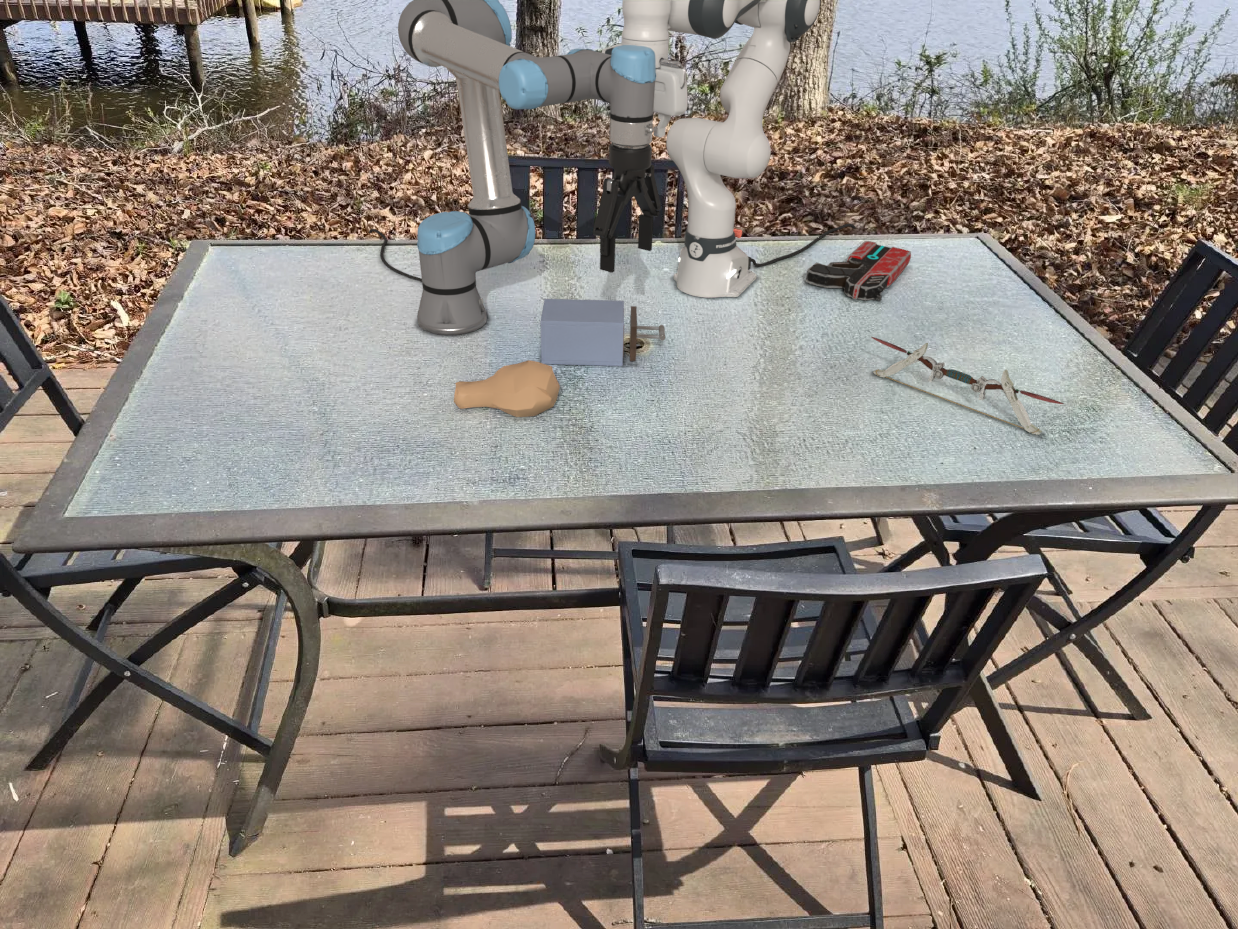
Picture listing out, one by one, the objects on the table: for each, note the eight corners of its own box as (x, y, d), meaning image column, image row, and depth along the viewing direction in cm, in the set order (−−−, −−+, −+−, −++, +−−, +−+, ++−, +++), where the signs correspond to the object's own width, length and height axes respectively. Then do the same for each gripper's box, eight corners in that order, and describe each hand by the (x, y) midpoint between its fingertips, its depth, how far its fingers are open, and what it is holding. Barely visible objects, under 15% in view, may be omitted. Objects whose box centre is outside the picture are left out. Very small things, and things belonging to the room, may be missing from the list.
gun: (803, 270, 216) (880, 289, 208) (845, 233, 238) (916, 249, 230) (800, 287, 219) (876, 306, 211) (842, 249, 240) (912, 265, 233)
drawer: (662, 340, 190) (664, 306, 185) (664, 361, 181) (666, 327, 177) (563, 337, 189) (562, 304, 185) (560, 358, 181) (559, 324, 177)
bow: (1053, 437, 161) (1070, 389, 156) (1050, 441, 160) (1067, 393, 155) (866, 368, 183) (875, 324, 177) (862, 371, 182) (871, 326, 176)
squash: (561, 423, 162) (553, 385, 155) (455, 431, 163) (443, 394, 157) (564, 386, 169) (557, 349, 163) (463, 394, 171) (452, 358, 165)
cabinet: (622, 342, 191) (623, 300, 185) (622, 365, 181) (623, 322, 176) (545, 340, 190) (544, 298, 185) (541, 363, 181) (540, 320, 176)
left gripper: (610, 162, 143) (607, 284, 155) (683, 133, 161) (675, 244, 173) (572, 154, 147) (572, 275, 158) (648, 126, 164) (643, 237, 176)
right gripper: (697, 60, 160) (692, 139, 168) (618, 46, 172) (616, 120, 179) (674, 64, 156) (669, 144, 164) (595, 49, 168) (594, 124, 176)
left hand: (626, 259), depth 166 cm, fingers open, 13 cm apart
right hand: (641, 131), depth 172 cm, fingers open, 8 cm apart
